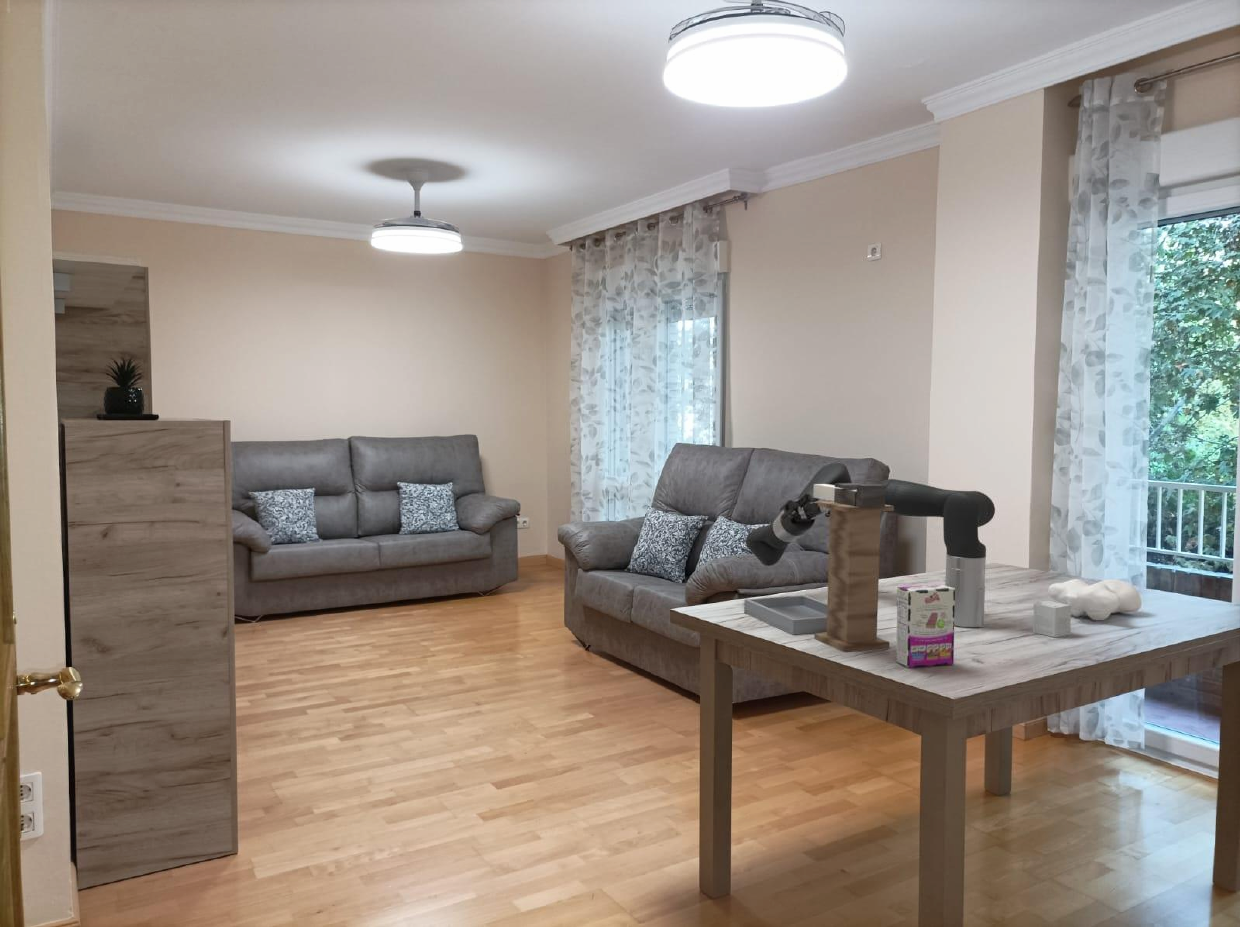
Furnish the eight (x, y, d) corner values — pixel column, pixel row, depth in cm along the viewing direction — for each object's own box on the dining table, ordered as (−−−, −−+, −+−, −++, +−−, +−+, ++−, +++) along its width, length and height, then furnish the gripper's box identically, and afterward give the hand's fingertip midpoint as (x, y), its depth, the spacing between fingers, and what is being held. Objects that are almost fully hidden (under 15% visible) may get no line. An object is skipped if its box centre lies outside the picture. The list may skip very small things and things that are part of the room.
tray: (857, 629, 223) (857, 614, 223) (792, 634, 217) (793, 620, 217) (803, 607, 246) (804, 595, 245) (744, 612, 239) (744, 599, 239)
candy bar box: (939, 658, 198) (942, 583, 197) (954, 665, 193) (957, 588, 192) (894, 662, 195) (896, 585, 194) (907, 668, 190) (910, 590, 189)
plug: (872, 505, 205) (872, 491, 204) (860, 506, 204) (860, 491, 203) (824, 497, 222) (825, 484, 222) (813, 497, 221) (813, 484, 221)
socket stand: (891, 648, 206) (897, 485, 203) (846, 652, 202) (851, 486, 199) (857, 634, 218) (862, 480, 215) (814, 638, 214) (818, 481, 211)
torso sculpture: (1083, 610, 254) (1033, 613, 239) (1086, 574, 254) (1037, 575, 239) (1152, 623, 239) (1103, 627, 225) (1155, 585, 239) (1107, 587, 225)
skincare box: (1070, 635, 220) (1072, 604, 220) (1054, 638, 217) (1056, 607, 217) (1048, 629, 225) (1049, 600, 225) (1032, 632, 222) (1033, 602, 222)
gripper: (765, 510, 232) (795, 482, 219) (813, 508, 237) (845, 481, 224) (772, 537, 229) (803, 511, 216) (820, 535, 234) (854, 509, 221)
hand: (824, 496), depth 220 cm, fingers open, 8 cm apart
